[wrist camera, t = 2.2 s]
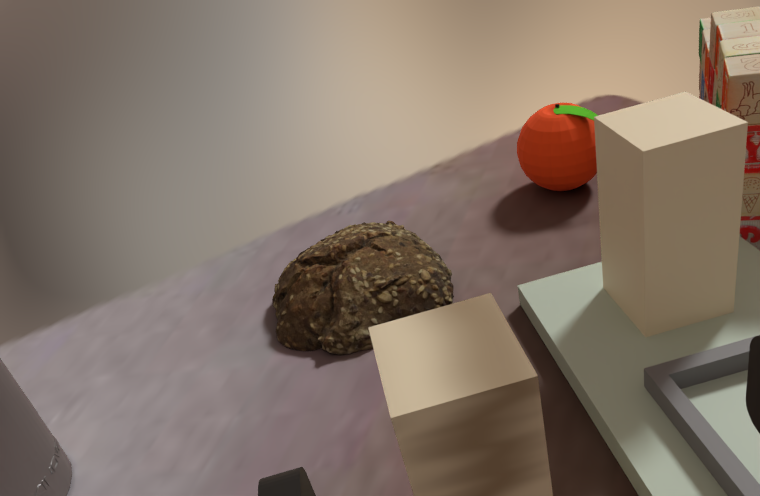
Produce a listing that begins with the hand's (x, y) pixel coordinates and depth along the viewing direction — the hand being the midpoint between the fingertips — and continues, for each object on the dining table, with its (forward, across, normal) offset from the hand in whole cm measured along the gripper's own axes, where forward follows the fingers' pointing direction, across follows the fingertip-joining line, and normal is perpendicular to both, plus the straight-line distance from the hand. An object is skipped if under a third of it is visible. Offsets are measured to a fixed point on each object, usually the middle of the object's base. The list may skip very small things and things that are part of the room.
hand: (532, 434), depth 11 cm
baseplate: (+15, -14, +17) cm, 27 cm away
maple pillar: (+10, 0, +17) cm, 20 cm away
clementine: (+38, -16, +17) cm, 45 cm away
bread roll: (+31, +3, +18) cm, 36 cm away
